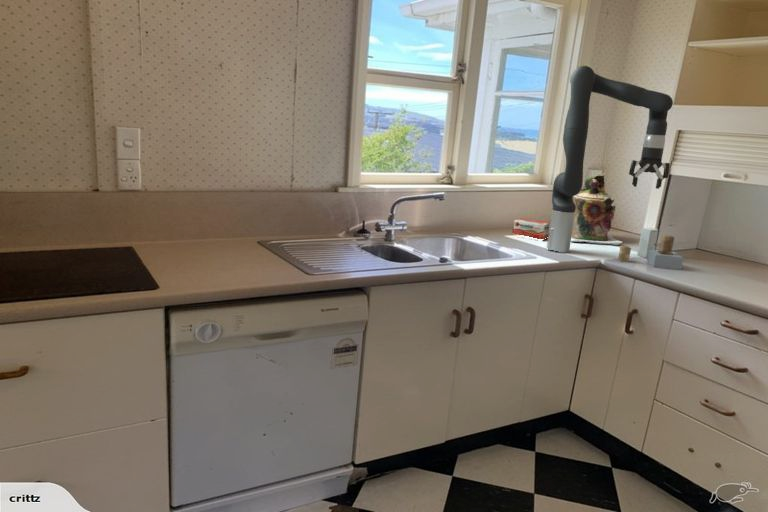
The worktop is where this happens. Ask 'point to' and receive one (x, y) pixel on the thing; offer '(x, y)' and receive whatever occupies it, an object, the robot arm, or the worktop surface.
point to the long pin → (666, 245)
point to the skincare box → (647, 241)
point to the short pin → (624, 253)
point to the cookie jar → (593, 213)
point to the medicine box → (531, 228)
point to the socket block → (664, 260)
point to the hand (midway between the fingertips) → (646, 187)
